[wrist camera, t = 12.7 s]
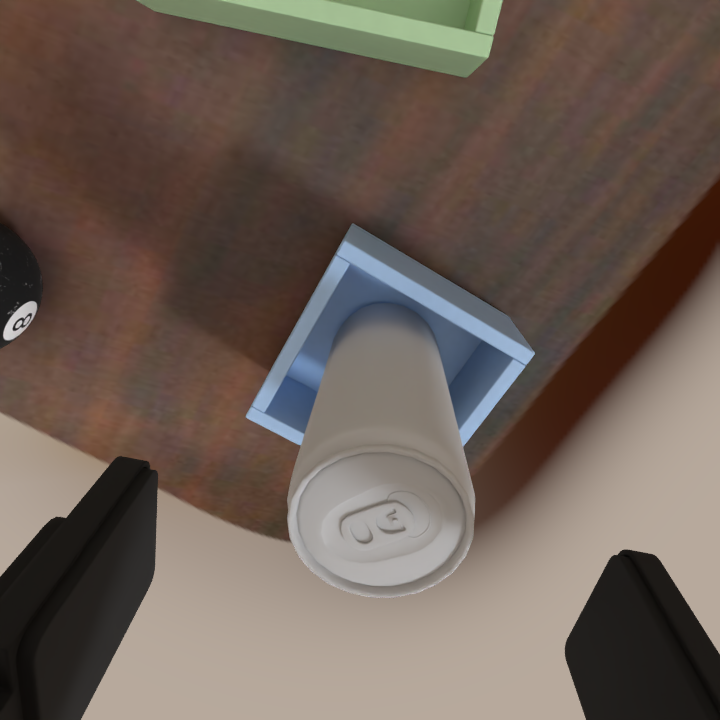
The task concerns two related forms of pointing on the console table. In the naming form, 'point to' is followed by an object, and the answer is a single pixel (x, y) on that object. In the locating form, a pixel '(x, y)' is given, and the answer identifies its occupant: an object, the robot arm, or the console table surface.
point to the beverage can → (382, 463)
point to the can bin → (406, 288)
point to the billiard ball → (17, 286)
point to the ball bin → (363, 26)
